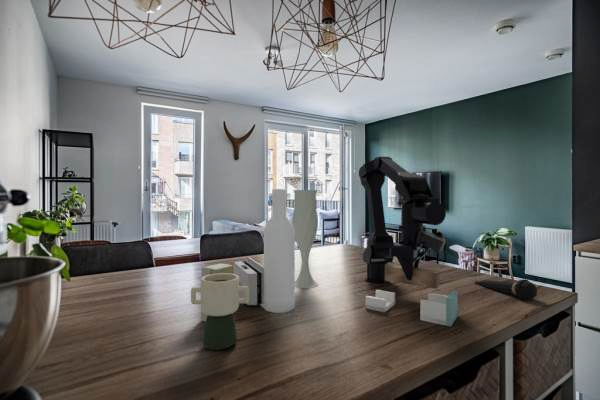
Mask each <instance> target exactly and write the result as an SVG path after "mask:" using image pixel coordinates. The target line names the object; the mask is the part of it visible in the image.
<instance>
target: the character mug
mask: <svg viewBox="0 0 600 400" xmlns="http://www.w3.org/2000/svg"><path fill="white" fill-rule="evenodd" d="M200 279H201V280H200V286H193V287H191V289H190V302H191V304H192V305H200V311H201V310H202V312H203V313H204V314H206V315H208V316H207V318H206V322H204V323H205V325H204V331H203V341H202V342H203V343H202V344H203V346H205V347H206V348H207V349H210V350H213V351H215V350H217V351H218V350H219V351H220V350H224V349H227V348H230V347H231V346H233V345H235V344H236V343H237V341H238V337H237V336H238V335H237V329H236V327H237V326H236V320H235V315H234V313H235V312H237V310H238V309H239V307H240V304H246V303H248V302H249V287H247V286H239V277H238V275H235V274H234V273H233V274H230V273H218V274H210V275H207V276H204V277H202V276H201V278H200ZM239 291H244V298H239ZM197 293H200V298H197ZM232 313H233V314H232Z"/></svg>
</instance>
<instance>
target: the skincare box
mask: <svg viewBox="0 0 600 400" xmlns="http://www.w3.org/2000/svg"><path fill="white" fill-rule="evenodd" d="M218 273H230V274H234V264H233V265H232V264H228V263H223V262H222V263H217V264H211V265H208V266H202V267H201V278H202V277H204V276H207V275H210V274H218ZM232 314H233V315H234V313H232ZM207 316H208V315H206V314H204V313H203V312H202V310H201V309H200V321H203V322H204V323H206V318H207Z"/></svg>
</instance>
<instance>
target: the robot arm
mask: <svg viewBox="0 0 600 400" xmlns="http://www.w3.org/2000/svg"><path fill="white" fill-rule="evenodd" d="M358 177H359V179H360V183H361V184H360V185H361V186H362V187H363V189H364V190H365V192H366V198H367V205H368V208H367V209H368V215H369V216H368V217H369V226H370V234H369V236H368V238H367V241H366V245H367V246H366V248H365V250H364V251H363V254H362V261H363V262H364V263H366V278H365V279H364V281H365V282H371V283H377V284H385V283H387V282H388V281H385V266H387V265H389V264H391V263H393V261H394V257H396V258H397V261H398V263H399V266H401V267H402V269H403V271H404V274H405V276H406V278H407V280H412V276H413V270H414V268H420V264H421V260H422V258H423V257H425V255H427V254H428V251H430V250H432V251H433V252H435V253H440V252H441V251H443V249H444V246H445V245H446V243H447V238H445V236H444V235H445V234H444V232H442V231H435V233H433V232H429V231H427V227H426V225H430V226H431V225H432V226H439V225H441V224H442V223H443V222H444V220H445V219H446V215H447V213H446V212H447V211H446V209H445V207H444V205H443V204H442V203H440V202H439V197H435V195H434V193H433V191H432V189H431V187H430V185H429V183H428V180H427V178H426V177H425V176H422V175H419V174H417V173H413V172H409V171H407V170H406V169H405V168H403V167H402V166H401V165H400V164H398V163H397V162H396V161H394V160H393V158H392V157H390V156H382V155H381V156H376V157H374V158H373V159H371V160H369V161H368V162H365V163H363V165H362V166H360V168H359V169H358ZM386 177H387V178H388V179H389V180H390V181H391V182H393V183H394V185H395V187H394V190H395V191H396V192H397V194H398V195H399V196H400V197H401V199H400V200H399V201H398V202H397V205H399V206H401V207H400V208H401V215H400V217H401V218H400V225H398V230H400V232H401V233H400V234H401V235H400V238H401V239H400V240H398V243H394V236H393V235H392V234H391V235H390V234H389V233H388V232H387V226H386V221H385V219H386V217H385V210H384V203H383V195H382V187H383V186H384V184H385V181H386ZM424 249H426V250H427V251H426V250H425V251H423V250H424Z"/></svg>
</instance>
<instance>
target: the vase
mask: <svg viewBox="0 0 600 400" xmlns="http://www.w3.org/2000/svg"><path fill="white" fill-rule="evenodd" d="M317 192H318V189H311V190H310V189H294V190H293V193H294V208H293V213H292V224H293V227H294V230H295V243H296V244H297V246H298V250H299V253H300V257H301V266H300V272H299V274H298V276H297V278H296V280H295V288H297V289H314V288H316V287H318V286H319V283H318V282H317V281H315V279H314V278H313V276H312V274H311V272H310V265H309V259H310V254H311V253H310V252H311V250H312V248H313V244H314V242H315V239H316V236H317V233H318V225H319V224H318V223H319V220H318V212H317V211H318V210H317Z"/></svg>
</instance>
